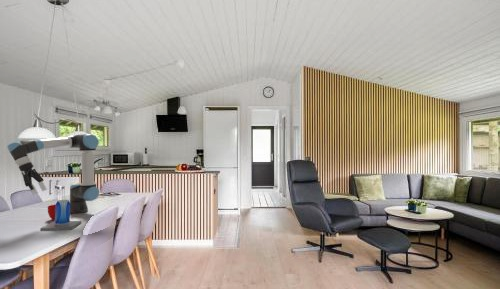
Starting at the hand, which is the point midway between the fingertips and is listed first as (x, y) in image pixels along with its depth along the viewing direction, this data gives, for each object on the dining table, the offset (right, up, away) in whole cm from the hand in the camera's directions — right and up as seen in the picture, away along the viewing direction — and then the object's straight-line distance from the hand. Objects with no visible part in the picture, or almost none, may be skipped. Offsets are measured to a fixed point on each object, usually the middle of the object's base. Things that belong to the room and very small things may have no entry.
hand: (40, 192), depth 200 cm
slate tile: (+16, -23, -2) cm, 28 cm away
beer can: (+16, -22, -2) cm, 27 cm away
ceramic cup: (+2, -23, +18) cm, 29 cm away
